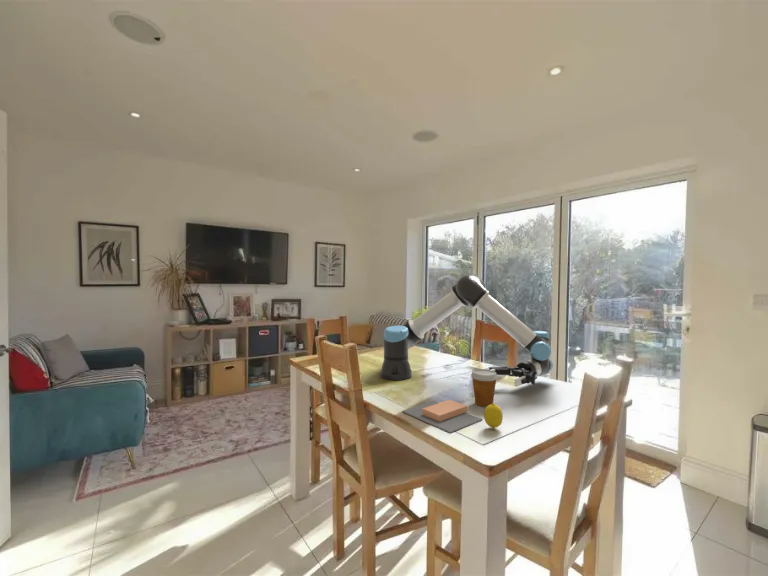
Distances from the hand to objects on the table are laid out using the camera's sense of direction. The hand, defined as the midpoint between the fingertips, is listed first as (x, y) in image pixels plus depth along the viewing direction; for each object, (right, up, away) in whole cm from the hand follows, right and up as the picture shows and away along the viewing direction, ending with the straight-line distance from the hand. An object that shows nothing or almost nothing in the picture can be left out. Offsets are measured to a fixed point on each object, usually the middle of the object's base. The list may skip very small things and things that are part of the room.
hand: (499, 378), depth 139 cm
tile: (-19, -6, -12) cm, 23 cm away
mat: (-26, -8, -18) cm, 32 cm away
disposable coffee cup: (-8, -8, -7) cm, 13 cm away
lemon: (-11, -9, -28) cm, 32 cm away
